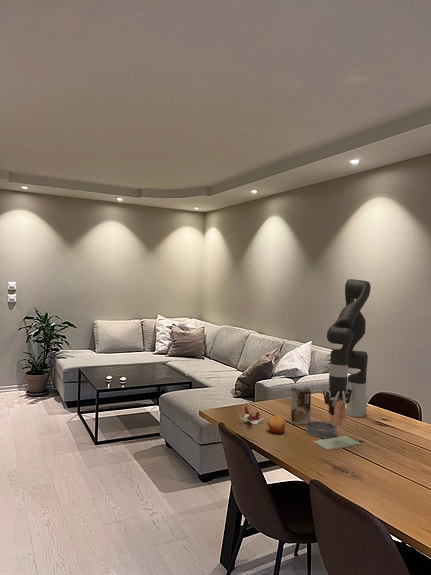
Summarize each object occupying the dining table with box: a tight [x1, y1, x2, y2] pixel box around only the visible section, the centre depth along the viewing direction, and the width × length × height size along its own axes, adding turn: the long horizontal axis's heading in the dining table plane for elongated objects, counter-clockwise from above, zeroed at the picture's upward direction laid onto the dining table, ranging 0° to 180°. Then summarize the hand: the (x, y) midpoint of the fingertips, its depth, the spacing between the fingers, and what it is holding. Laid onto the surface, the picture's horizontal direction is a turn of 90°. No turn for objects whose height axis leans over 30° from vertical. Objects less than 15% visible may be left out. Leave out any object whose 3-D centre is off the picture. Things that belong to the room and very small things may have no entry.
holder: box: [305, 420, 338, 439], centre depth 196 cm, size 13×13×3 cm
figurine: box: [239, 405, 264, 425], centre depth 206 cm, size 15×12×7 cm
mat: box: [312, 435, 362, 451], centre depth 184 cm, size 18×9×1 cm, turn 115°
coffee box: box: [289, 387, 312, 426], centre depth 209 cm, size 9×6×16 cm
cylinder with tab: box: [329, 397, 347, 426], centre depth 183 cm, size 7×5×10 cm
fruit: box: [266, 415, 286, 434], centre depth 196 cm, size 8×8×8 cm
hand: (336, 413), depth 184 cm, fingers closed on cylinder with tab, 5 cm apart
